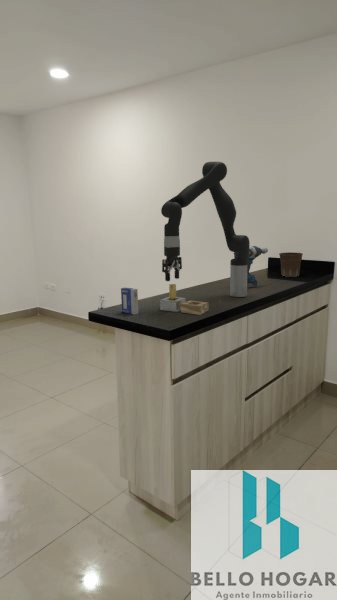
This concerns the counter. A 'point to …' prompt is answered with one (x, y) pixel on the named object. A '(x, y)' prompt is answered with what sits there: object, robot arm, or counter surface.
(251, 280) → the impact wrench
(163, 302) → the socket block
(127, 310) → the walkman
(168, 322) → the counter surface
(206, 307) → the rack block
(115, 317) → the counter surface
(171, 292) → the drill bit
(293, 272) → the plant pot
